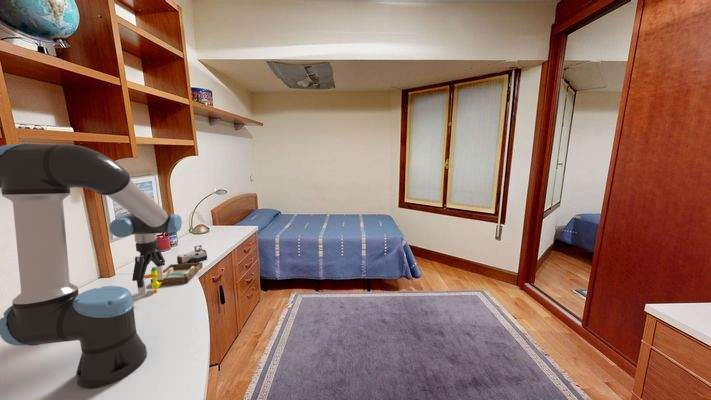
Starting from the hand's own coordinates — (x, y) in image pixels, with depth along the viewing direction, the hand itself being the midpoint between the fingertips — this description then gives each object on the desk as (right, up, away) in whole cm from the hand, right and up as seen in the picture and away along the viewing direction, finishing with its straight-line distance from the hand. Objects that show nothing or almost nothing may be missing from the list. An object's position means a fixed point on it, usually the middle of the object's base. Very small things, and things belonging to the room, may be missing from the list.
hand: (152, 286), depth 117 cm
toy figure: (-1, -4, +2) cm, 5 cm away
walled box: (0, -1, +19) cm, 19 cm away
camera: (-3, +1, +36) cm, 36 cm away
